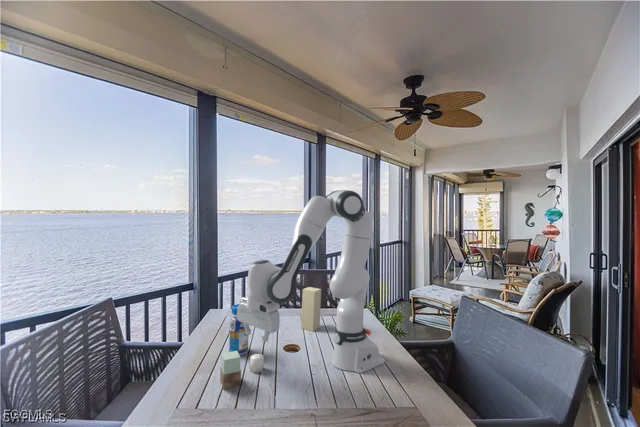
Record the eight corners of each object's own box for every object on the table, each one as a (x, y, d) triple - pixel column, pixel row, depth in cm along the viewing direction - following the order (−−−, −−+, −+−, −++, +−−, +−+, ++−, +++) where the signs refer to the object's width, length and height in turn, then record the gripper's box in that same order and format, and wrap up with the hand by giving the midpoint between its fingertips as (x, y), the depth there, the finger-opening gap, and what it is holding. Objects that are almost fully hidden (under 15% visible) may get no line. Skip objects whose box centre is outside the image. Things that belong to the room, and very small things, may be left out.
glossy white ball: (261, 365, 121) (261, 352, 121) (264, 371, 116) (265, 358, 116) (248, 368, 118) (249, 355, 118) (251, 374, 114) (252, 361, 114)
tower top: (236, 364, 111) (237, 350, 111) (239, 371, 106) (240, 357, 106) (221, 367, 109) (221, 353, 109) (223, 374, 104) (224, 360, 104)
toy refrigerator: (320, 327, 162) (322, 288, 162) (313, 331, 156) (314, 291, 156) (308, 324, 167) (309, 286, 167) (300, 328, 160) (302, 289, 160)
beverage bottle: (229, 348, 135) (230, 303, 135) (248, 346, 137) (249, 302, 137) (228, 356, 127) (229, 309, 127) (248, 355, 129) (250, 308, 129)
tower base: (236, 376, 112) (237, 363, 112) (240, 385, 106) (241, 371, 106) (220, 380, 109) (220, 366, 109) (223, 389, 104) (223, 375, 104)
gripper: (233, 298, 120) (232, 332, 120) (271, 310, 109) (269, 348, 109) (246, 295, 125) (244, 328, 126) (283, 305, 114) (281, 342, 114)
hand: (256, 337), depth 117 cm, fingers open, 8 cm apart
